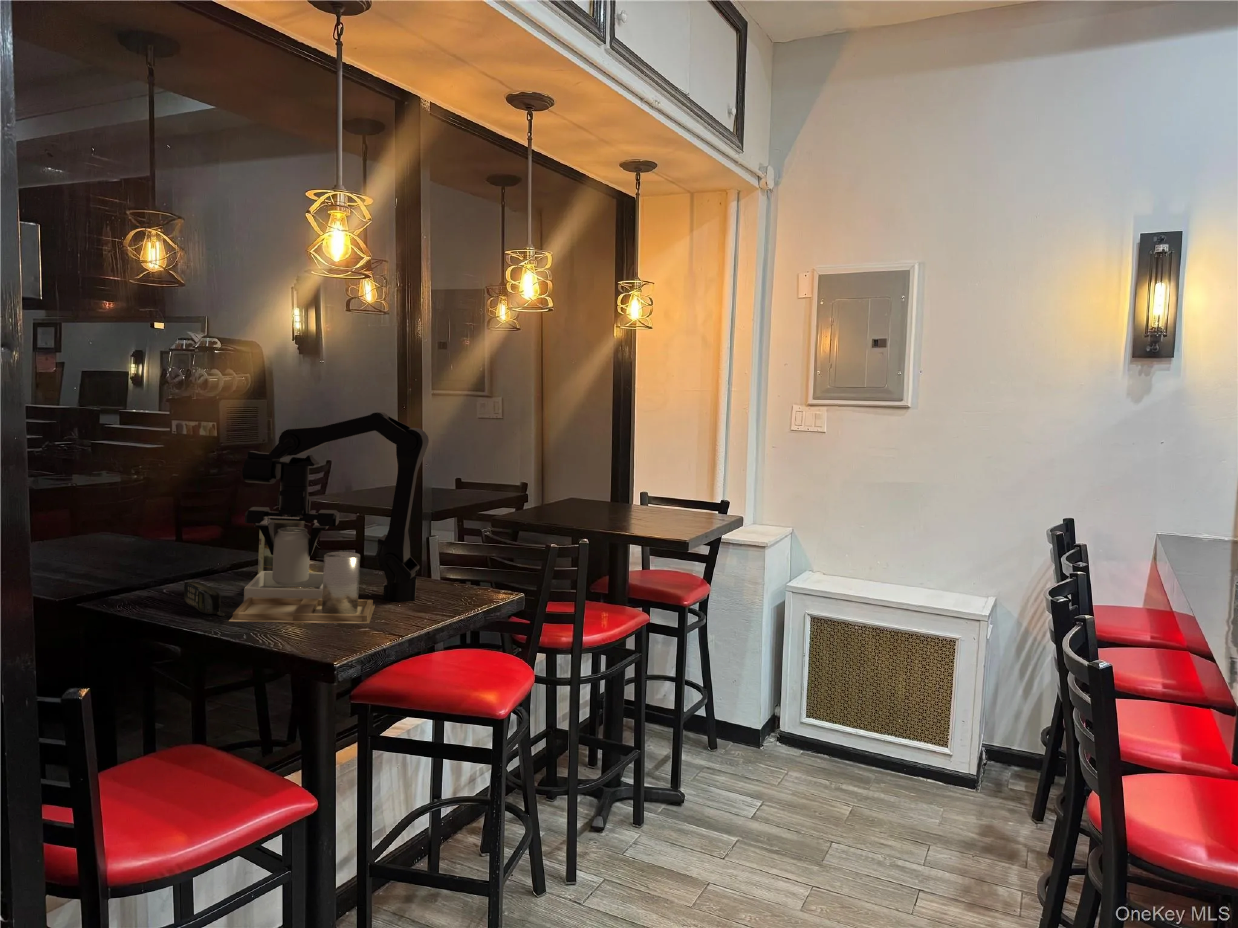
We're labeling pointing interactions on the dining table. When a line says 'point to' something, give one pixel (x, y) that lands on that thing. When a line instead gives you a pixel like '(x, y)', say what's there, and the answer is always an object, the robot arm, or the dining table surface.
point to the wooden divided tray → (297, 611)
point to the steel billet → (340, 583)
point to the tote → (266, 580)
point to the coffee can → (264, 553)
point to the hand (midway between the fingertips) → (291, 555)
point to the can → (291, 556)
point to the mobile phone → (202, 597)
